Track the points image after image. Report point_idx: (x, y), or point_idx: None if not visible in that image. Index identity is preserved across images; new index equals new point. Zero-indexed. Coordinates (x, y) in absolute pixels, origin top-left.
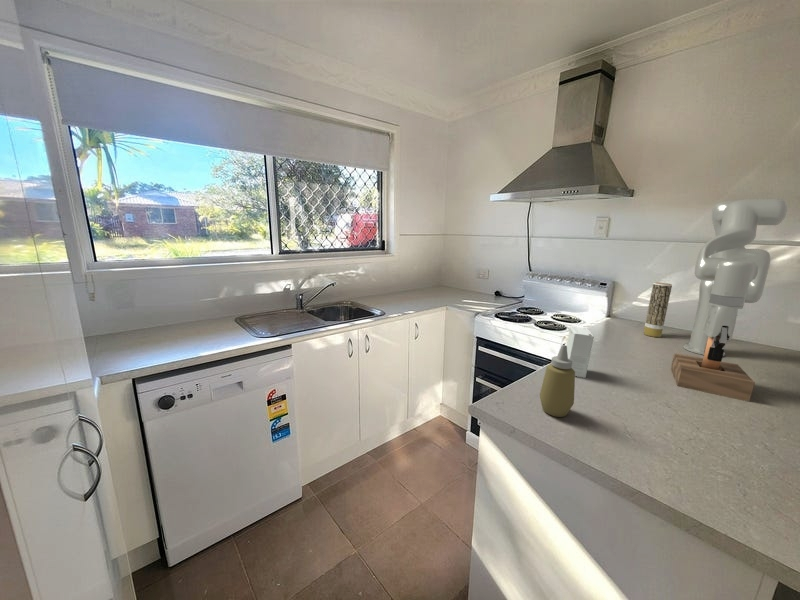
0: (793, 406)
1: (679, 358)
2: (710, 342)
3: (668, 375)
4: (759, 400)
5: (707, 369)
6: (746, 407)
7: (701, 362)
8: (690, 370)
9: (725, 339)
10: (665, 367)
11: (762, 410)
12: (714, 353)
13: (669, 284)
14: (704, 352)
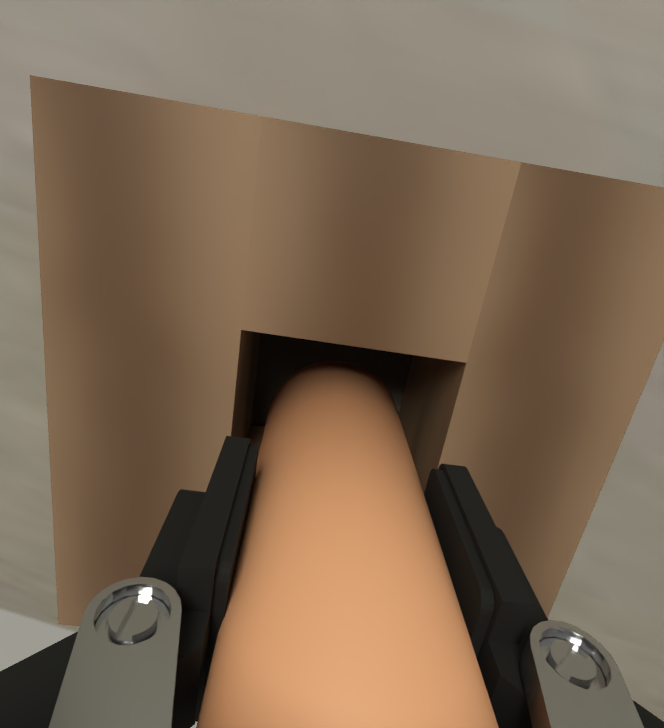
0: None
1: (485, 192)
2: (266, 659)
3: (392, 111)
4: None
5: (186, 380)
6: (4, 459)
7: (450, 407)
8: (40, 180)
9: None
10: (627, 153)
11: (21, 522)
12: (158, 545)
13: None
14: (456, 479)
